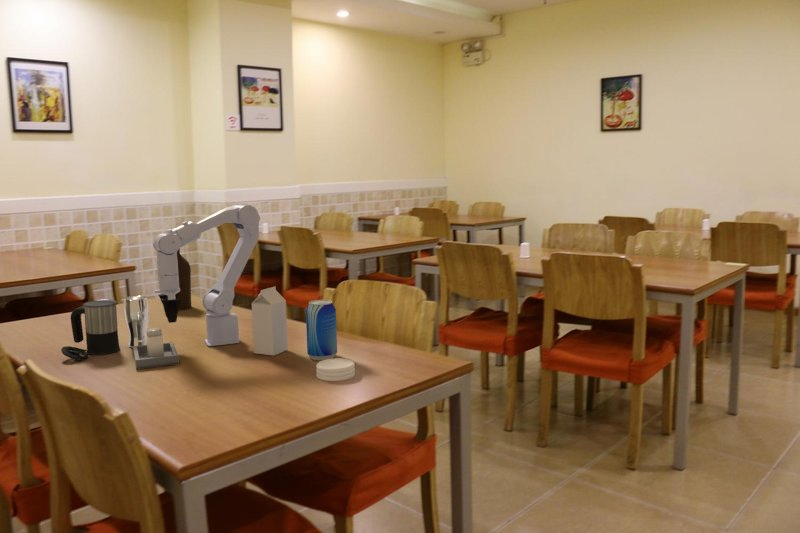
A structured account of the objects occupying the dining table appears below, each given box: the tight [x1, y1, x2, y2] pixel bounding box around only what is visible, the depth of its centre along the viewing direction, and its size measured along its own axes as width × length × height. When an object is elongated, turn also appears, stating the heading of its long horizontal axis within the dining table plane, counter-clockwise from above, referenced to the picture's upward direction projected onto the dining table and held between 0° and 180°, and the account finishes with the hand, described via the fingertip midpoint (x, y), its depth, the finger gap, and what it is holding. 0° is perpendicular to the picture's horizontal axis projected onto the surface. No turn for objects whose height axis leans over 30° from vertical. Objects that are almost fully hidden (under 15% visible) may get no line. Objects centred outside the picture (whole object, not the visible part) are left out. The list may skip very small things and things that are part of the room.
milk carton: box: [251, 285, 289, 357], centre depth 195 cm, size 7×7×19 cm
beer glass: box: [123, 295, 150, 349], centre depth 205 cm, size 7×7×15 cm
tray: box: [132, 341, 180, 370], centre depth 190 cm, size 11×16×3 cm
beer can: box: [305, 299, 338, 361], centre depth 189 cm, size 8×8×16 cm
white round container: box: [315, 357, 356, 382], centre depth 173 cm, size 10×10×4 cm
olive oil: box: [177, 247, 192, 311], centre depth 260 cm, size 11×11×25 cm
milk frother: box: [60, 299, 121, 361], centre depth 195 cm, size 14×16×15 cm
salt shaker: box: [146, 327, 164, 358], centre depth 189 cm, size 4×4×8 cm
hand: (171, 319), depth 198 cm, fingers open, 7 cm apart
